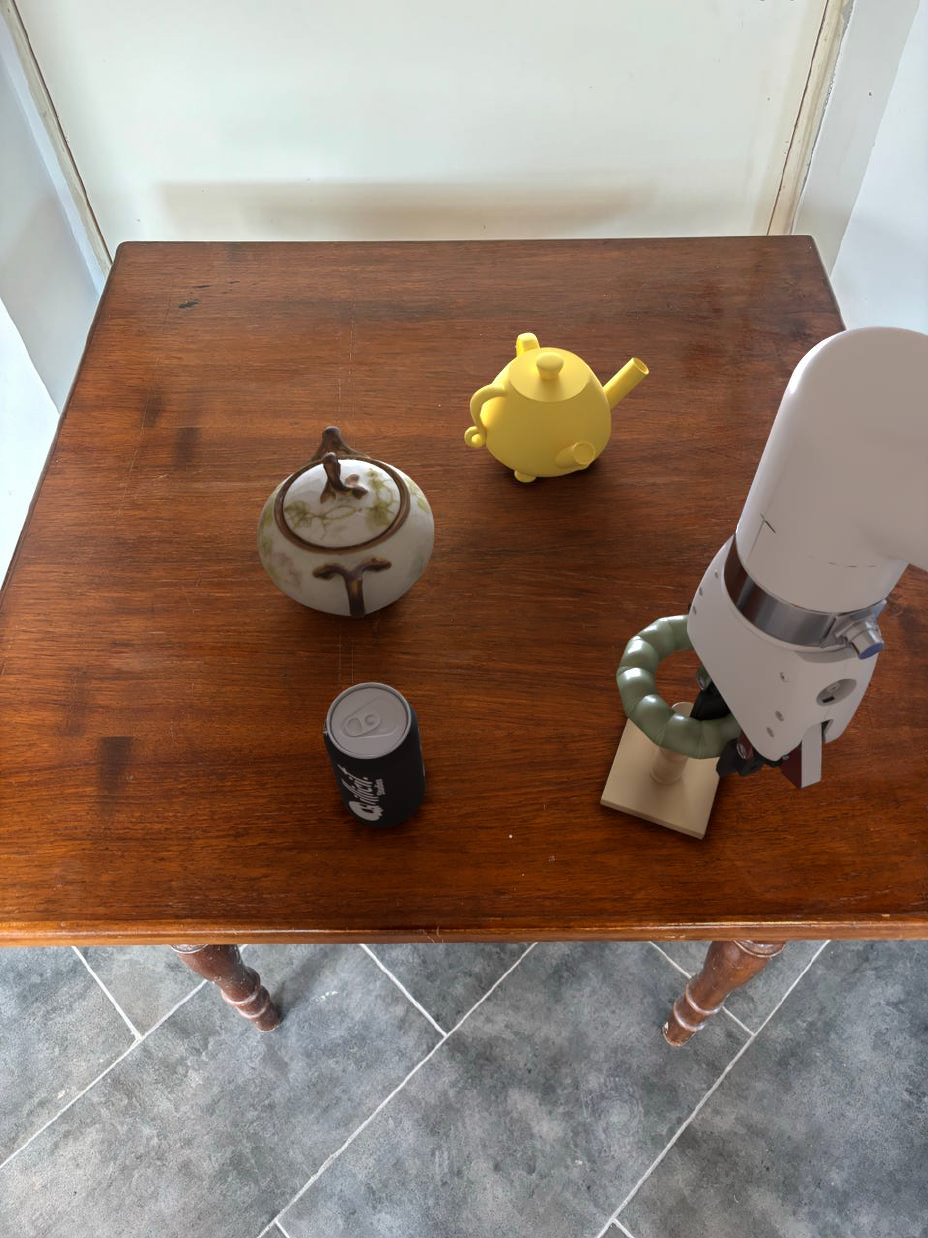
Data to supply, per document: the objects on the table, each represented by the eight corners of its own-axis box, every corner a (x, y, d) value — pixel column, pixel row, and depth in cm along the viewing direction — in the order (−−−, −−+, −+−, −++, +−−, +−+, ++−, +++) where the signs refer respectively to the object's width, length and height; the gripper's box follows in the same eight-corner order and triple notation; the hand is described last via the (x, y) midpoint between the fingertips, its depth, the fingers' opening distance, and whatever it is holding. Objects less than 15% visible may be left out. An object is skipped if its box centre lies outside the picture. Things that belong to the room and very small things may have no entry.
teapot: (580, 524, 88) (592, 439, 79) (453, 473, 92) (450, 386, 83) (640, 427, 95) (657, 338, 86) (520, 383, 99) (524, 294, 90)
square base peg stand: (725, 750, 75) (755, 687, 67) (701, 840, 71) (730, 785, 63) (628, 718, 77) (645, 653, 69) (599, 804, 73) (614, 746, 64)
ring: (789, 655, 64) (798, 636, 62) (755, 787, 59) (765, 770, 57) (641, 609, 67) (646, 589, 65) (596, 732, 61) (600, 714, 59)
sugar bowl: (265, 507, 90) (230, 388, 78) (420, 485, 91) (409, 364, 79) (280, 683, 79) (242, 578, 67) (455, 655, 81) (449, 546, 68)
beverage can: (438, 813, 73) (431, 743, 63) (357, 843, 71) (336, 777, 61) (409, 741, 76) (398, 664, 66) (331, 769, 75) (308, 695, 65)
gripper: (979, 684, 42) (845, 836, 57) (785, 436, 50) (714, 625, 66) (833, 739, 40) (736, 879, 56) (658, 474, 49) (616, 659, 64)
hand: (724, 741), depth 60 cm, fingers closed on ring, 2 cm apart
